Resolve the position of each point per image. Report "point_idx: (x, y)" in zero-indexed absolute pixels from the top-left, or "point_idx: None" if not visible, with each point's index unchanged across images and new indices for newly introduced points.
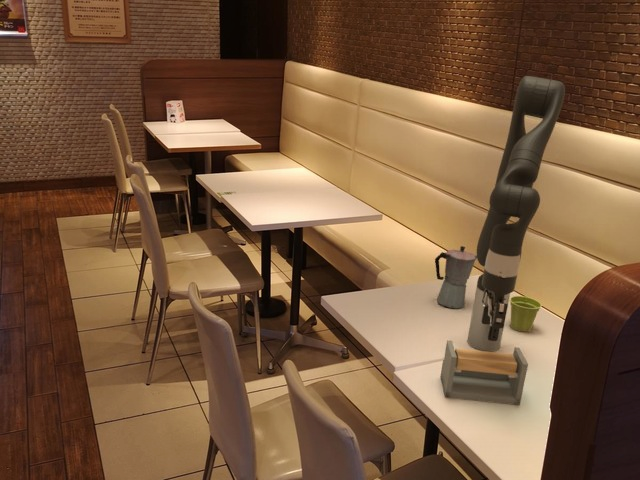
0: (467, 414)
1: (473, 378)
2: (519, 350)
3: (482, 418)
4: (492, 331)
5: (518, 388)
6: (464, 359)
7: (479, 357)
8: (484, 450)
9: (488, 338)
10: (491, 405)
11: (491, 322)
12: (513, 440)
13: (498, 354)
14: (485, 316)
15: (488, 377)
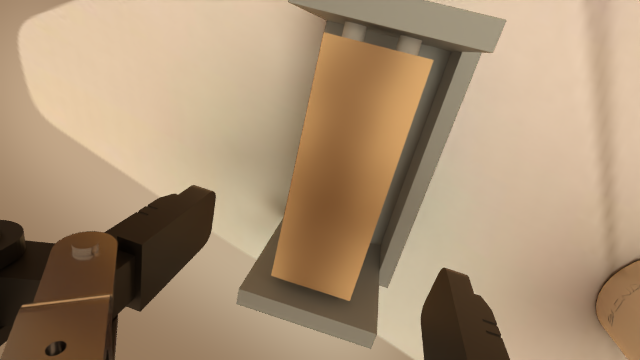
0: (240, 46)
1: (407, 145)
2: (347, 335)
3: (223, 85)
4: (119, 225)
5: (273, 234)
6: (318, 65)
7: (327, 150)
8: (88, 25)
9: (191, 189)
10: (285, 143)
11: (50, 254)
12: (139, 125)
13: (350, 247)
14: (447, 324)
15: (399, 195)
